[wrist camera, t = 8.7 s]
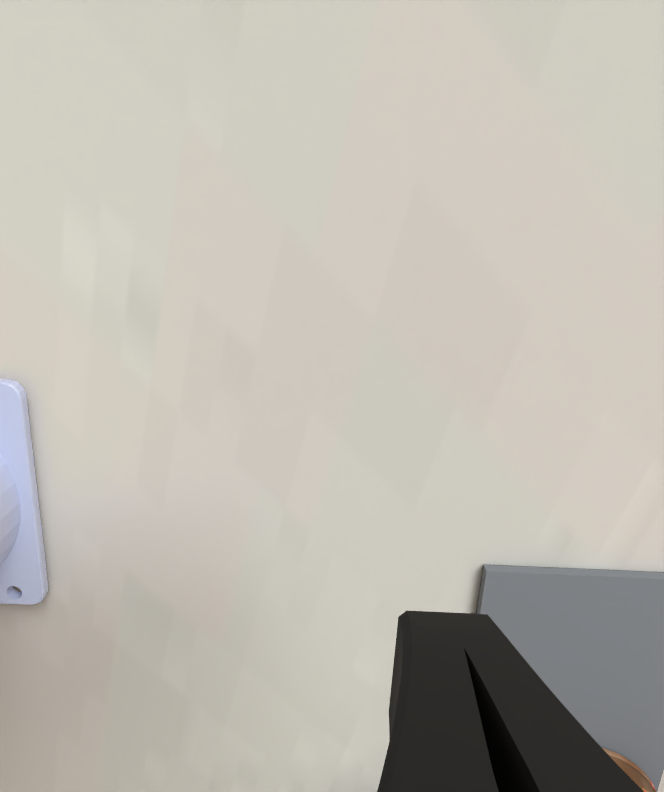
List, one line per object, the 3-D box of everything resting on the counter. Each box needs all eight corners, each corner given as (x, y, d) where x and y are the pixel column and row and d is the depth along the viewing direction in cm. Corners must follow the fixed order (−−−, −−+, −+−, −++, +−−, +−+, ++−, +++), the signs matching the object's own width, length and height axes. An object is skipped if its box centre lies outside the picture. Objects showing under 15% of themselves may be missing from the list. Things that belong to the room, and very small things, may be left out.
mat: (433, 901, 26) (434, 911, 25) (483, 564, 20) (486, 571, 20) (615, 907, 26) (619, 917, 26) (712, 574, 21) (719, 581, 20)
